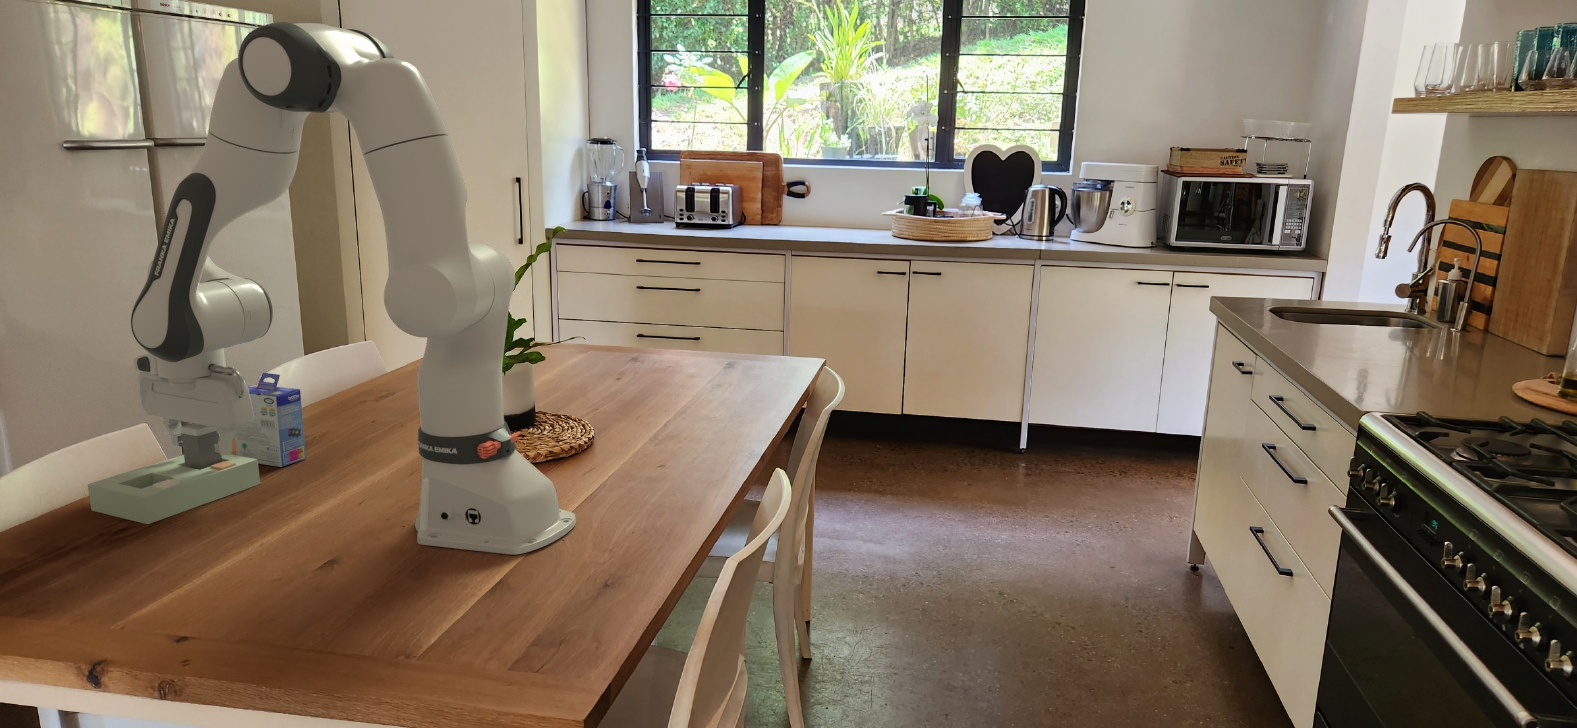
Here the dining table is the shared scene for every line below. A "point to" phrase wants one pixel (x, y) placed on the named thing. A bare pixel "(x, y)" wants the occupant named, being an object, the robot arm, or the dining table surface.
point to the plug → (199, 446)
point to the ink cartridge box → (273, 425)
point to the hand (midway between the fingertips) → (202, 449)
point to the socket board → (171, 488)
